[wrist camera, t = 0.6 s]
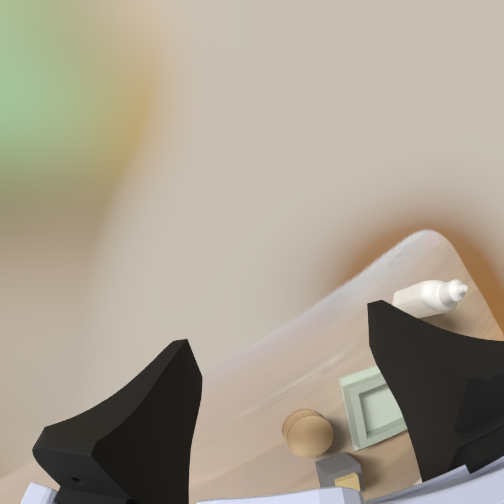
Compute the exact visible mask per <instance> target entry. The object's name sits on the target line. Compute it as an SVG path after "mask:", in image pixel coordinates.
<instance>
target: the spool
mask: <svg viewBox="0 0 504 504" xmlns="http://www.w3.org/2000/svg"><path fill="white" fill-rule="evenodd" d="M282 432H283V436H284V439H285V440H286V442H287V443H288V445H289V447H290V449H291V450H292V451H293V452H294V453H295V454H296V455H298V456H300V457H303V458H313V457H317V456H319V455H321V454H323V453H324V452H325V451H326V450H327V449H328V448H329V447H330V445H331V444H332V441H333V437H334V432H333V428H332V426H331V424H330V423H329V422H328V421H327V420H326V419H324V418H322V417H321V416H320V415H319V414H318V413H316V412H314V411H312V410H307V409H303V410H298V411H296V412H294V413H292V414H291V415H289V416H288V417H287V419H286V420H285V422H284V424H283V429H282Z"/></svg>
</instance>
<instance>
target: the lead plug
mask: <svg viewBox="0 0 504 504" xmlns="http://www.w3.org/2000/svg"><path fill="white" fill-rule="evenodd" d="M315 464H316V468H317V473H318V477H319V482H320V486H321V488H323V487H334V486H341V487H347V488H353V489H356V490H358V491H359V492H363V491H365V490H364V483H363V477H362V472H361V466H360V464H359V463H358V462H357V461H356V460H355V459H354V458H352V457H351V456H350V455H349V454H348V453H346V452H344V453H341V454H338V455H335V456H332V457H329V458H326V459H323V460H320V461H317V462H315Z"/></svg>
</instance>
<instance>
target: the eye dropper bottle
mask: <svg viewBox="0 0 504 504" xmlns="http://www.w3.org/2000/svg"><path fill="white" fill-rule="evenodd" d="M466 291H467V285H463V284H462V282H461V281H460V280H457V279H454V280H451V281H449V282H443V281H439V280H428V281H423V282H420V283H418V284H415V285H412V286H410V287H407V288H405V289H402V290H399V291H397V292H395V294H394V297H393V303H392V305H393V306H395V307H397V308H398V309H400V310H402V311H404V312H406V313H408V314H410V315H412V316H414V317H416V318H423V317H428V316H433V315H437V314H442V313H446V312H450V311H453V310H454V309H455V308H456V306H457V302H460V301H461V300H462V299H463V297H464V294H465V292H466Z"/></svg>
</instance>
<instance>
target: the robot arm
mask: <svg viewBox="0 0 504 504" xmlns="http://www.w3.org/2000/svg"><path fill="white" fill-rule="evenodd" d="M367 306H368V324H369V346H370V348H371V351H372V354H373V357H374V359H375V362H376V364H377V366H378V368H379V370H380V372H381V374H382V376H383V378H384V379H385V381H386V383H387V385H388V387H389V389H390V391H391V392H392V394H393V396H394V398H395V400H396V402H397V404H398V406H399V408H400V410H401V413H402V415H403V418H404V421H405V424H406V426H407V429H408V432H409V435H410V438H411V441H412V445H413V448H414V451H415V455H416V458H417V462H418V466H419V470H420V474H421V478H422V483H420V484H418V485H415V486H412V487H409V488H406V489H403V490H401V491H398V492H394V493H391V494H388V495H385V496H381V497H378V498H375V499H371V500H367V501H364V500H363V496H362V495H361V494H360V492H359V491H358V490H356V489H353V488H347V487H341V486H334V487H323V488H315V489H309V490H303V491H297V492H290V493H282V494H274V495H264V496H253V497H239V498H218V499H210V500H203V501H200V502H198V503H196V504H504V341H495V340H486V339H479V338H474V337H469V336H464V335H460V334H457V333H454V332H450V331H447V330H444V329H441V328H439V327H436V326H434V325H431V324H429V323H427V322H424V321H422V320H420V319H418V318H416V317H414V316H412V315H410V314H408V313H406V312H404V311H402V310H400V309H398V308H397V307H395V306H393V305H391V304H389V303H387V302H385V301H383V300H379V301H375V302H372V303H368V304H367ZM201 394H202V375H201V372H200V370H199V367H198V365H197V363H196V360H195V357H194V355H193V352H192V350H191V347H190V345H189V342H188V340H187V339H184V340H176V341H173V342H172V343H170V344H169V345H168V346H167V347H166V348H165V349H164V350H163V351H162V352H161V353H160V354H159V355H158V356H157V357H156V358H155V359H154V360H153V361H152V362H151V363H150V364H149V365H148V366H147V367H146V368H145V369H144V370H143V371H142V372H141V373H139V374H138V375H137V376H136V377H135V378H134V379H133V380H132V381H130V382H129V383H128V384H127V385H126V386H124V387H123V388H122V389H121V390H119V391H118V392H117V393H115V394H114V395H113V396H111V397H109V398H108V399H107V400H105V401H103V402H101V403H100V404H98V405H96V406H95V407H93V408H91V409H89V410H87V411H85V412H83V413H81V414H79V415H77V416H75V417H72V418H70V419H67V420H65V421H62V422H59V423H56V424H53V425H50V426H47V427H45V428H44V430H43V431H42V433H41V435H40V437H39V439H38V440H37V442H36V443H35V445H34V447H33V449H32V451H33V455H34V457H35V459H36V461H37V462H38V463H39V465H40V466H41V467H42V468H43V469H44V470H45V471H46V472H47V473H48V474H49V475H50V476H51V477H52V478H53V479H54V480H55V481H56V482H57V483H58V484H59V485H60V486H61V487H60V489H59V491H58V492H57V491H56V490H54V489H52V488H49V487H46V486H43V485H40V484H37V483H33V482H31V483H30V485H29V487H28V489H27V491H26V493H25V495H24V497H23V499H22V501H21V503H20V504H189V465H190V452H191V444H192V439H193V434H194V429H195V425H196V420H197V416H198V411H199V406H200V401H201Z"/></svg>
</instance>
